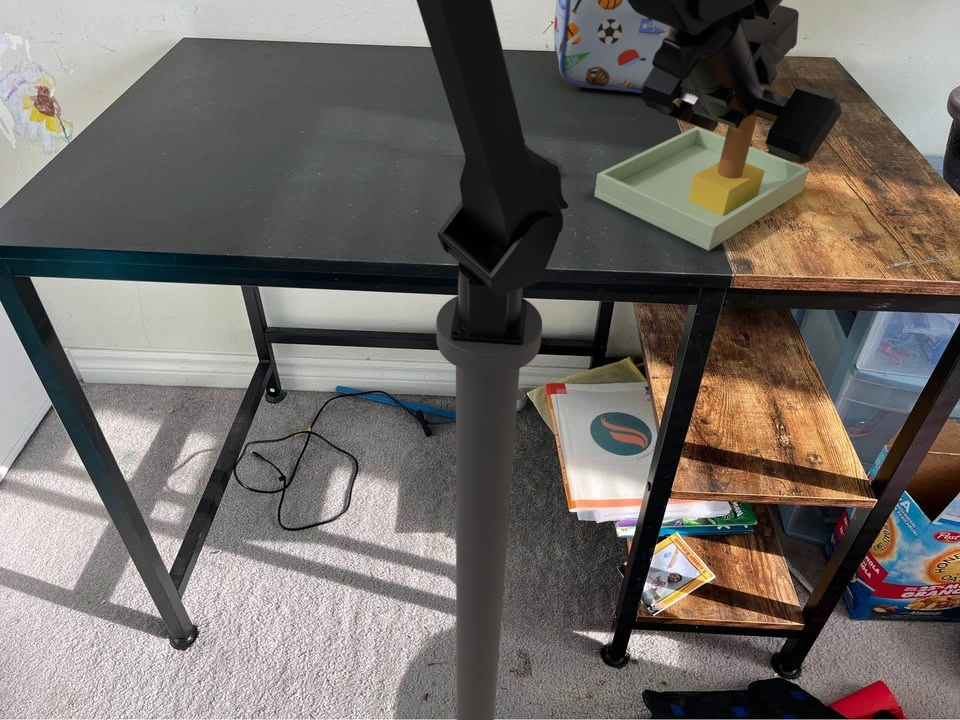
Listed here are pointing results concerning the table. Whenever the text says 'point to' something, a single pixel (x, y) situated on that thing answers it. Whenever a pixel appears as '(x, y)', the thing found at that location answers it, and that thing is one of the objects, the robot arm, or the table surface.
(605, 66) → the lunch box
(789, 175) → the tray
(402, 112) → the table surface
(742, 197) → the sponge wand
